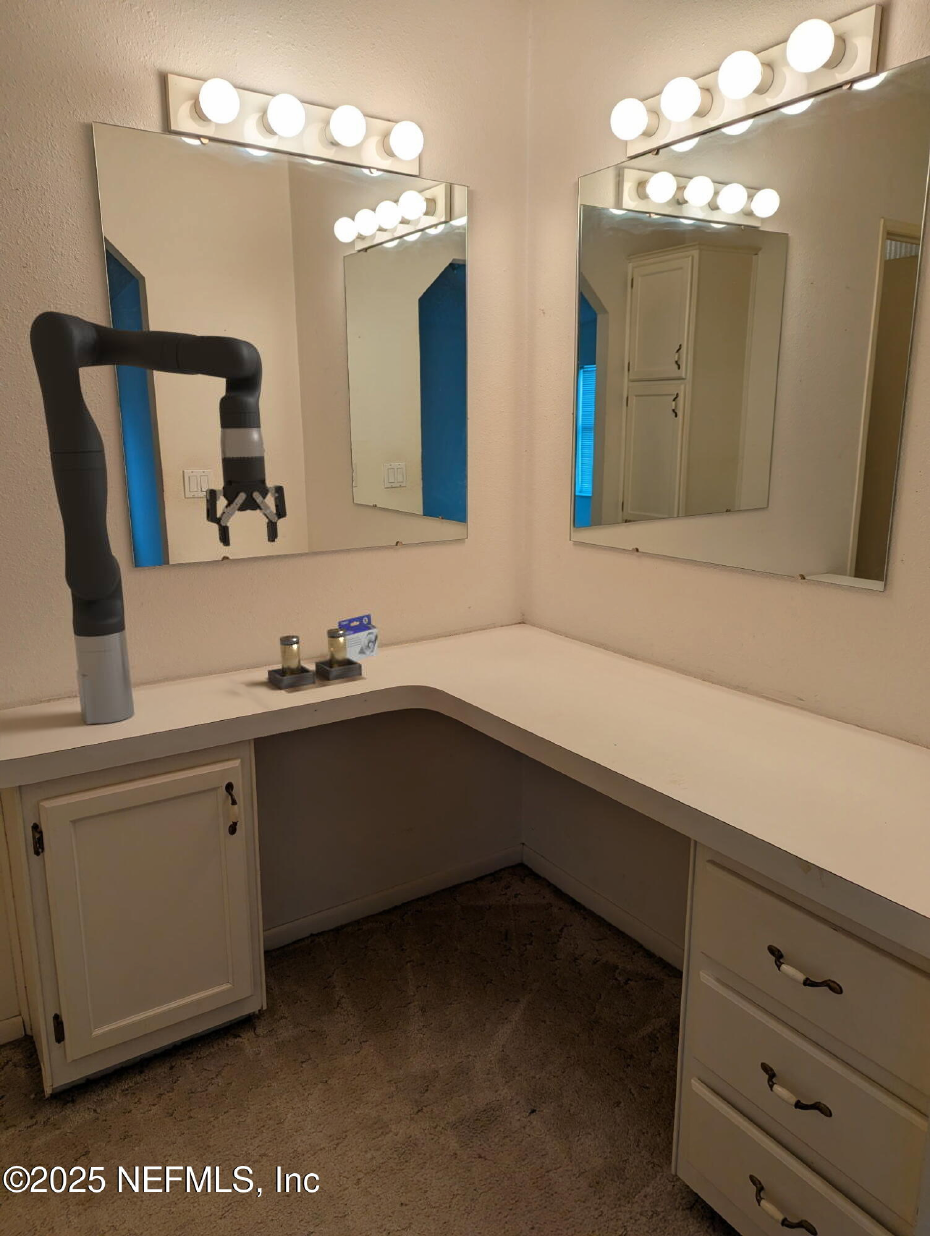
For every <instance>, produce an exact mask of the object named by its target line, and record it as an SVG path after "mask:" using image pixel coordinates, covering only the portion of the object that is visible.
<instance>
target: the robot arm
mask: <svg viewBox="0 0 930 1236" xmlns="http://www.w3.org/2000/svg"><path fill="white" fill-rule="evenodd" d="M29 344H30V348H31V353H32V358H33V362H34V366H35V370H36V375H37V379H38V383H39V387H40V391H41V396H42V397H41V398H42V404H43V410H44V417H45V424H46V430H47V431H46V432H47V438H48V446H49V447H48V448H49V453H50V454H49V457H50V458H49V459H50V464H51V471H52V476H53V477H52V478H53V483H54V489H55V494H56V498H57V499H56V500H57V503H58V507H59V508H58V509H59V510H60V511H59V512H60V515H61V519H62V525H63V534H64V535H63V536H64V578H65V582H66V584H67V586H68V588H69V589H70V594H71V595H70V596H71V603H72V604H71V605H72V606H71V607H72V629H73V638H74V640H73V641H74V646H75V647H74V648H75V655H76V665H77V670H76V678H77V687H78V697H79V704H80V713H81V718H82V719H83V721H84V723H86V725H92V724H108V723H109V724H111V723H114V722H119V721H123V720H127V719H128V718H130V717H133V716H134V715H135V706H134V698H133V687H132V679H131V669H130V660H129V650H128V641H127V640H128V639H127V632H126V621H125V620H126V619H125V618H126V617H125V604H124V603H125V602H124V593H123V592H124V591H123V582H122V580H123V579H122V573H121V568H120V567H121V566H120V564H119V562H118V560H117V557H116V556H114V555H113V552H112V547H111V544H110V543H111V542H110V539H109V532H108V523H107V513H108V512H107V511H108V493H109V491H108V490H109V489H108V488H109V487H108V484H109V483H108V467H107V461H106V460H107V459H106V453H105V452H106V451H105V445H104V440H103V438H102V435H101V433H100V430H99V427H98V426H97V424H96V422H95V420H94V417H93V416H92V414H91V413H90V410H89V407H88V406H87V404H86V402H85V399H84V395H83V390H82V386H81V379H80V378H81V377H80V369H82V368H89V367H101V366H103V367H104V366H125V367H133V368H139V369H145V370H149V371H155V372H162V373H168V374H177V375H187V376H189V375H190V376H197V375H198V376H199V375H201V376H208V377H213V378H219V379H220V378H221V379H225V391H224V393H225V394H224V395H223V396H221V398H220V399H219V404H218V407H219V408H218V410H219V411H218V412H219V423H220V440H219V442H220V444H219V445H220V454H221V455H220V457H221V470H222V482H223V485H222V488H221V489H216V488H215V489H214V488H207V489H206V490H205V508H206V509H205V510H206V511H205V515H206V521H207V522H208V523H212V524H215V525H216V526H217V529H218V531H217V532H218V540H219V542H220V544H222V546H223V547H230V546H231V541H230V539H231V538H230V537H231V536H230V526H229V525H228V523H229V522H230V520H231V518H232V517H233V516H234V515H235V514H236V512H240V513H241V512H247V511H252V512H254V511H255V512H257V511H259V513H261V514H262V515H263V516H264V517H265V518H266V520H267V521H266V535H267V542H268V543H275V542H276V540H277V539H278V537H279V532H278V521H279V520H281V519H286V518H287V516H288V515H287V506H286V498H285V491H284V490H285V489H284V486H282V485H278V484H275V485H273V486H268V485H267V482H266V481H267V476H266V463H265V447H264V445H265V444H264V439H263V435H262V434H263V433H262V425H261V411H260V410H261V409H260V398H261V393H262V391H261V390H262V383H263V362H262V358H261V354H260V352H259V350H258V349H257V347H256V346H255V345H254V344H253V343H251V342H249V341H247V340H244V339H240V338H236V337H232V336H225V335H224V336H222V335H196V334H191V333H186V332H175V331H167V330H125V329H120V328H119V329H118V328H113V327H108V326H105V325H102V324H98V323H95V322H92V321H89V320H86V319H83V318H81V317H79V316H77V315H72V314H69V313H65V312H59V311H53V310H52V311H51V310H49V311H43V312H41V313H39V314H38V315H37V316H36V317H35V318H34V320H33V321H32V323H31V326H30V332H29ZM269 494H270V496H271V498H272V499H273V500H274V507H275V508H274V510H275V512H274V511H273V510H272V508H271V507H270V505H269V504H268V503H267V502H266V501H265V500H266V499H267V497H268V495H269ZM221 497H223V498H224V500H225V501H226V504H225V505H224V507H223V508H222V510H221V513H220V514H219V516H218V501H220V499H221Z"/></svg>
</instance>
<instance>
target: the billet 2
mask: <svg viewBox="0 0 930 1236" xmlns="http://www.w3.org/2000/svg"><path fill="white" fill-rule="evenodd" d="M326 636H327V647H328V648H327V650H328V660H329V668H330V669H333V668H339V667H344V666H347V647H346V629H342V628H338V627H337V628H331V629H330V628H329V629H327V630H326Z"/></svg>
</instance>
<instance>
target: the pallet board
mask: <svg viewBox="0 0 930 1236" xmlns="http://www.w3.org/2000/svg"><path fill="white" fill-rule="evenodd" d="M314 665H315V667H314V669H310V668H308V667H307V666H304V665H302V664H301V674H299V675H293V676H287V677H282V667H279V668H274V669H269V670H267V677H265V679H266V680H267V681H268V682H269V683H270V684H272V685H273V686H275V687H276V688H278V689H279V690H280V691H284V692H285V693H287V694H293V693H298V692H305V691H309V690H314V689H315V690H316V689H319V688H320V689H321V688H326V687H330V686H336V685H342V684H347V683H352V682H359V681H364V680H367V679H368V678H366V677H365V676H362V675H363V672H362V671H363V666H362V664H361V663H360V662H359V661H357V662H356V661H354V660H352V659H349V658H347V666H344V667H339V668H333V669H330V668H329V659H327V660H322V661H315V663H314Z"/></svg>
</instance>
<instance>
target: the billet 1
mask: <svg viewBox="0 0 930 1236" xmlns="http://www.w3.org/2000/svg"><path fill="white" fill-rule="evenodd" d="M279 647H280V659H281V660H280V661H281V668H282V677H287V676H293V675H299V674H301V665H302V664H301V650H300V648H301V647H300V636H299V635H296V634H295V635H292V634H291V635H283V636H281V637H279Z"/></svg>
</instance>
